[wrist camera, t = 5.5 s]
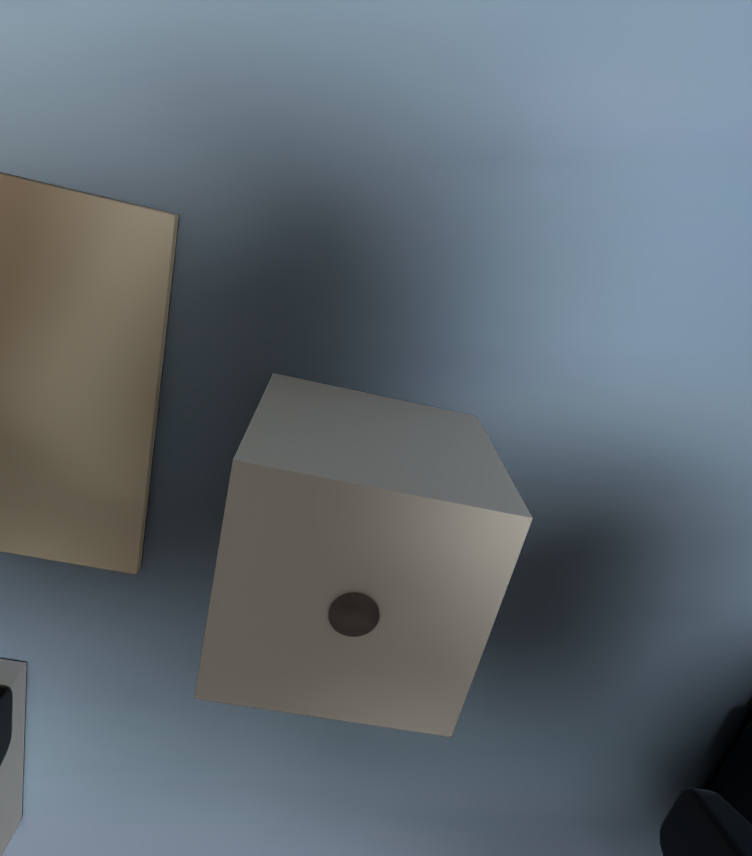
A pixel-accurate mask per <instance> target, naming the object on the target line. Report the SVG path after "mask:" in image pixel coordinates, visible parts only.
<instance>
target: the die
mask: <svg viewBox="0 0 752 856" xmlns="http://www.w3.org/2000/svg"><path fill="white" fill-rule="evenodd" d="M532 519H533V518H532V516H531V514H530V512H529V510H528V509H527V507H526V505H525V503H524V501H523V499H522V498H521V496H520V494H519V492H518V490H517V488H516V487H515V485H514V483H513V481H512V479H511V477H510V476H509V474H508V472H507V470H506V468H505V466H504V465H503V463H502V461H501V459H500V457H499V455H498V454H497V452H496V450H495V448H494V446H493V445H492V443H491V441H490V439H489V437H488V435H487V434H486V432H485V430H484V428H483V426H482V424H481V423H480V421H479V419H478V417H477V416H473V415H469V414H464V413H459V412H454V411H450V410H445V409H440V408H436V407H431V406H426V405H422V404H417V403H412V402H407V401H403V400H398V399H393V398H389V397H384V396H379V395H375V394H370V393H365V392H360V391H356V390H351V389H346V388H342V387H337V386H332V385H327V384H323V383H318V382H313V381H309V380H304V379H299V378H295V377H290V376H285V375H280V374H276V373H273V374H272V377H271V379H270V381H269V383H268V385H267V387H266V389H265V392H264V394H263V396H262V398H261V400H260V402H259V405H258V407H257V409H256V411H255V413H254V415H253V417H252V420H251V422H250V424H249V426H248V428H247V430H246V433H245V435H244V437H243V439H242V441H241V443H240V445H239V448H238V450H237V452H236V454H235V456H234V458H233V462H232V468H231V474H230V480H229V487H228V493H227V499H226V505H225V511H224V517H223V524H222V530H221V536H220V542H219V548H218V555H217V561H216V567H215V573H214V579H213V585H212V592H211V598H210V604H209V610H208V616H207V623H206V629H205V635H204V641H203V647H202V654H201V660H200V666H199V672H198V678H197V684H196V691H195V697H194V699H199V700H206V701H213V702H219V703H226V704H233V705H239V706H246V707H253V708H259V709H266V710H273V711H279V712H286V713H293V714H300V715H306V716H313V717H320V718H326V719H333V720H340V721H346V722H353V723H360V724H366V725H373V726H380V727H387V728H393V729H400V730H407V731H413V732H420V733H427V734H433V735H440V736H447V737H452V734H453V732H454V729H455V726H456V724H457V721H458V718H459V715H460V713H461V710H462V707H463V705H464V702H465V699H466V697H467V694H468V691H469V689H470V686H471V683H472V681H473V678H474V675H475V672H476V670H477V667H478V664H479V662H480V659H481V656H482V654H483V651H484V648H485V646H486V643H487V640H488V638H489V635H490V632H491V629H492V627H493V624H494V621H495V619H496V616H497V613H498V611H499V608H500V605H501V603H502V600H503V597H504V594H505V592H506V589H507V586H508V584H509V581H510V578H511V576H512V573H513V570H514V568H515V565H516V562H517V560H518V557H519V554H520V551H521V549H522V546H523V543H524V541H525V538H526V535H527V533H528V530H529V527H530V525H531V522H532Z"/></svg>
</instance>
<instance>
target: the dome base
mask: <svg viewBox="0 0 752 856" xmlns="http://www.w3.org/2000/svg"><path fill="white" fill-rule="evenodd" d="M26 670H27V663H25V662H19V661H12V660H5V659H0V684H1V685H6V686H9V687H10V688H11V690H12V694H13V710H12V737H11V742H10V745H9V748H8V751H7V753H6V755H5V758H4V760H3V762H2V764H1V766H0V856H2V855H3V853H4V851H5V849H6V847H7V845H8V843H9V842H10V840H11V838H12V836H13V834H14V832H15V830H16V828H17V827H18V825H19V823H20V821H21V819H22V798H23V766H24V734H25V702H26Z"/></svg>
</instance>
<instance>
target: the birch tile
mask: <svg viewBox="0 0 752 856" xmlns="http://www.w3.org/2000/svg"><path fill="white" fill-rule="evenodd" d="M178 220H179V215H177V214H173V213H169V212H165V211H161V210H156V209H152V208H148V207H144V206H140V205H135V204H131V203H127V202H123V201H119V200H114V199H110V198H106V197H102V196H98V195H93V194H89V193H85V192H81V191H77V190H72V189H68V188H64V187H60V186H56V185H51V184H47V183H43V182H39V181H35V180H30V179H26V178H22V177H18V176H14V175H9V174H5V173H1V172H0V551H1V552H7V553H12V554H18V555H24V556H30V557H36V558H42V559H48V560H53V561H59V562H65V563H71V564H77V565H83V566H89V567H95V568H100V569H106V570H112V571H118V572H124V573H130V574H136V575H137V573H138V571H139V570H140V568H141V559H142V550H143V541H144V532H145V522H146V513H147V504H148V495H149V486H150V477H151V467H152V458H153V449H154V440H155V431H156V422H157V412H158V403H159V394H160V385H161V376H162V367H163V357H164V348H165V339H166V330H167V321H168V312H169V302H170V293H171V284H172V275H173V266H174V257H175V247H176V238H177V229H178Z"/></svg>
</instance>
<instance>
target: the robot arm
mask: <svg viewBox="0 0 752 856" xmlns="http://www.w3.org/2000/svg"><path fill="white" fill-rule="evenodd" d="M12 710H13V694H12V690H11V688H10V687H9V686H6V685H1V684H0V766H1V764H2V762H3V760H4V758H5V755H6V753H7V751H8V748H9V745H10V742H11V737H12ZM660 845H661V849H662V853H663V856H752V709H751V710H750V712H749V714H748V715H747V717H746V719H745V720H744V722H743V724H742V726H741V727H740V729H739V731H738V732H737V734H736V736H735V737H734V739H733V741H732V742H731V744H730V746H729V747H728V749H727V751H726V752H725V754H724V756H723V757H722V759H721V761H720V762H719V764H718V766H717V767H716V769H715V771H714V772H713V774H712V776H711V777H710V779H709V781H708V782H707V784H706V786H705V787H704V789H698V788H691V787H688V788H685V789H683V790H682V791H681V792H680V793H679V795H678V796H677V798H676V800H675V802H674V803H673V805H672V807H671V809H670V810H669V812H668V814H667V816H666V817H665V819H664V821H663V822H662V825H661V828H660Z"/></svg>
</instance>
